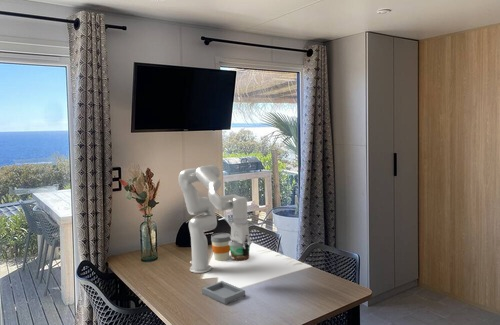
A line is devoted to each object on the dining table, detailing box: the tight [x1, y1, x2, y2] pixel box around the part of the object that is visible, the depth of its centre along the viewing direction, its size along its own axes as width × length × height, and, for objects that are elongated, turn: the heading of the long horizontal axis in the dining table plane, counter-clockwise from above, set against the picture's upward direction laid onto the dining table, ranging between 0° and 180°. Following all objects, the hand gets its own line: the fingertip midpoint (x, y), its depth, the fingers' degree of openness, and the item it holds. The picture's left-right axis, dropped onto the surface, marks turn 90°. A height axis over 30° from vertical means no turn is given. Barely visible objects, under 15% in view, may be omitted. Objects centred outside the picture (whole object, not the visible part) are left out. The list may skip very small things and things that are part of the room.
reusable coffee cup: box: [210, 232, 231, 262], centre depth 258 cm, size 13×12×15 cm
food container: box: [228, 240, 251, 262], centre depth 213 cm, size 12×6×10 cm, turn 108°
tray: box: [201, 280, 246, 306], centre depth 204 cm, size 18×13×3 cm
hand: (240, 253), depth 214 cm, fingers closed on food container, 6 cm apart
